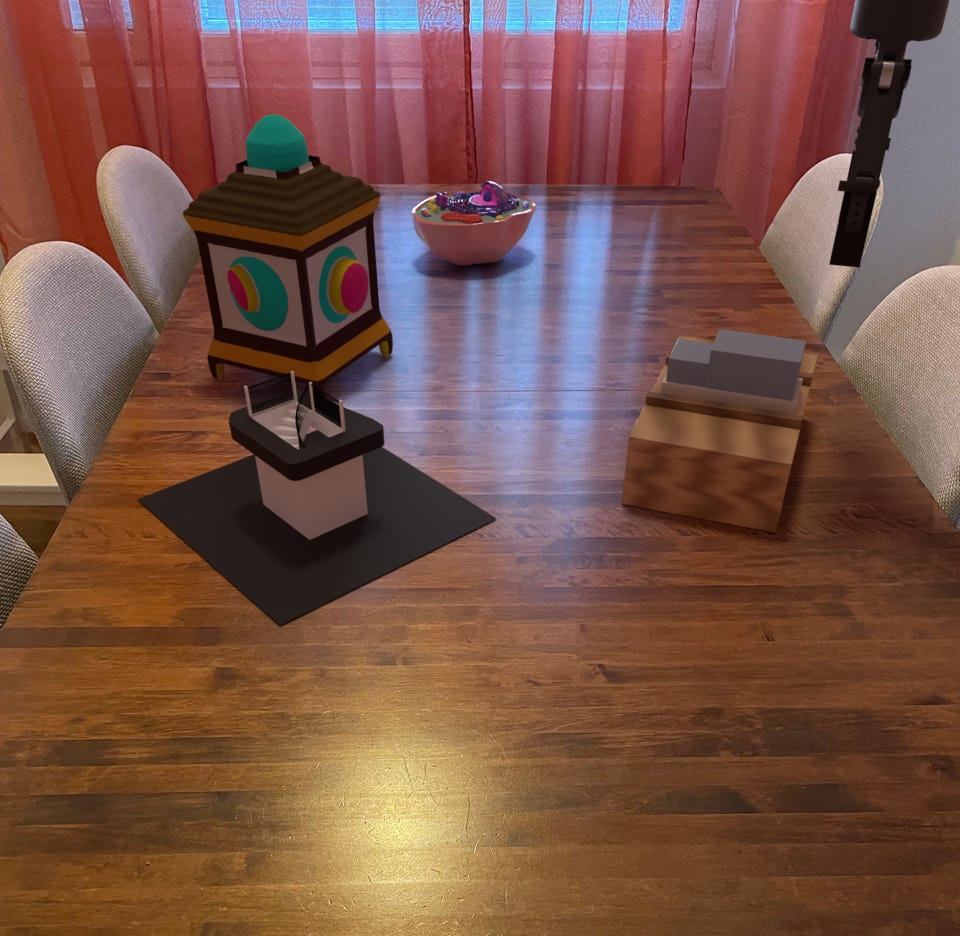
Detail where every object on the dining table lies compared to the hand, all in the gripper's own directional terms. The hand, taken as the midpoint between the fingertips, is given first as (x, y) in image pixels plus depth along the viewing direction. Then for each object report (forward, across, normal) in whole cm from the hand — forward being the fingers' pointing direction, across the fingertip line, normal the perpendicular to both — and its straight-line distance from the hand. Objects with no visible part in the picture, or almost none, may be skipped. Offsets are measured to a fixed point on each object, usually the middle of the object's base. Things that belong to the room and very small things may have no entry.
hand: (848, 242), depth 96 cm
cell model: (+23, -47, -56) cm, 77 cm away
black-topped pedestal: (+23, +28, -47) cm, 60 cm away
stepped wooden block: (+24, +4, -9) cm, 25 cm away
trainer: (+16, +4, -9) cm, 18 cm away
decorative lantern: (+23, -2, -64) cm, 68 cm away
